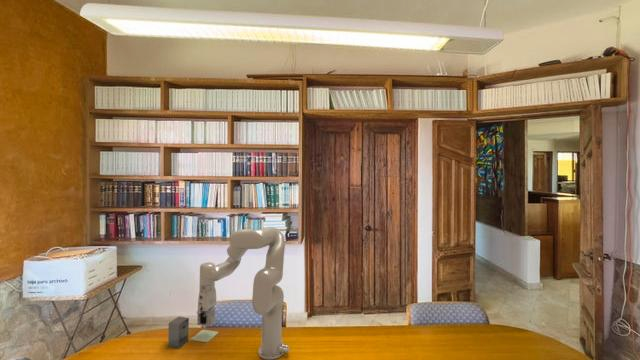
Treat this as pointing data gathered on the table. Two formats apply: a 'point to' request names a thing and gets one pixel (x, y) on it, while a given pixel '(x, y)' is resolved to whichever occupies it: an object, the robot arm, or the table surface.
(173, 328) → the block
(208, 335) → the pad
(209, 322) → the medicine box
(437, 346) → the table surface
